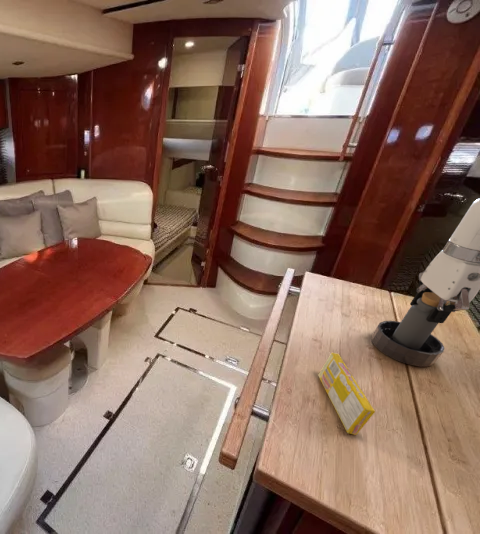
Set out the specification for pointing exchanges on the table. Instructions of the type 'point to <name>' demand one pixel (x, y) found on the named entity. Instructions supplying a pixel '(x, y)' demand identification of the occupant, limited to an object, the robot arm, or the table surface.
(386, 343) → the pan
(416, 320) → the bottle
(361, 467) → the table surface
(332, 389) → the candy box
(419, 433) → the table surface
